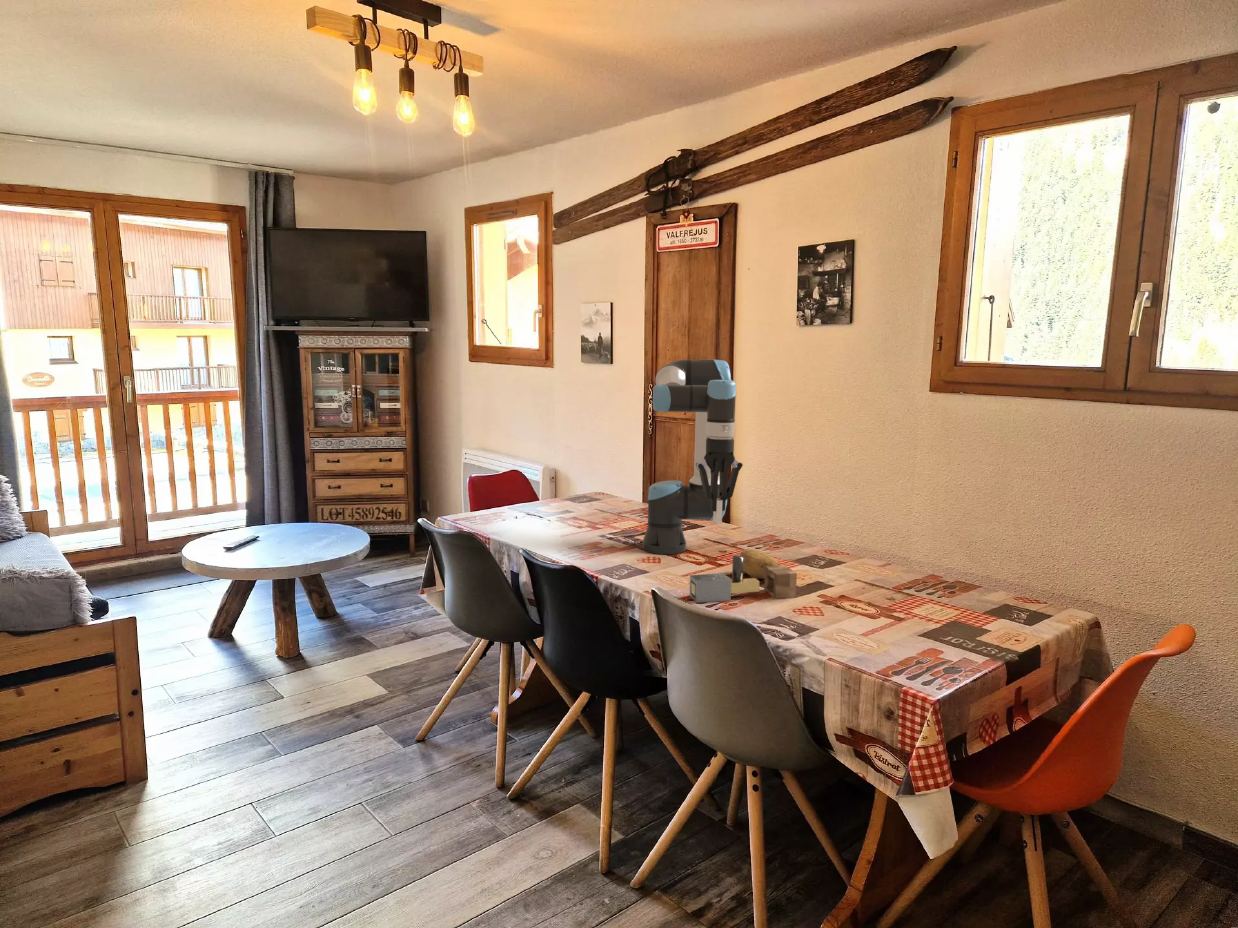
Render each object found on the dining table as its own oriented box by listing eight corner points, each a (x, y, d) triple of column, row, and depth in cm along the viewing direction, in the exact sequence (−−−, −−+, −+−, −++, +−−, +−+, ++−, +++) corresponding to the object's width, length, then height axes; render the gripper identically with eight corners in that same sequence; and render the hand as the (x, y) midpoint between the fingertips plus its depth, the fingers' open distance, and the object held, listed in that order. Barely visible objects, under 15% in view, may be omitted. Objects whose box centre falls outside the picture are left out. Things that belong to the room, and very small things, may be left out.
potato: (762, 586, 226) (763, 560, 225) (731, 574, 238) (732, 549, 237) (786, 581, 231) (788, 555, 230) (754, 569, 243) (755, 544, 242)
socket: (764, 589, 224) (765, 566, 222) (783, 588, 225) (784, 565, 224) (775, 598, 216) (776, 574, 215) (795, 597, 217) (796, 573, 216)
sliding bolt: (691, 592, 216) (692, 557, 214) (754, 588, 220) (756, 554, 218) (694, 595, 213) (695, 560, 211) (759, 591, 217) (760, 557, 215)
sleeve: (689, 595, 217) (689, 575, 216) (722, 593, 220) (723, 573, 219) (696, 602, 212) (696, 581, 211) (730, 600, 214) (731, 579, 213)
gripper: (701, 439, 204) (699, 526, 207) (748, 438, 207) (744, 524, 210) (692, 436, 211) (690, 520, 215) (737, 435, 214) (734, 518, 217)
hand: (717, 522), depth 212 cm, fingers closed
